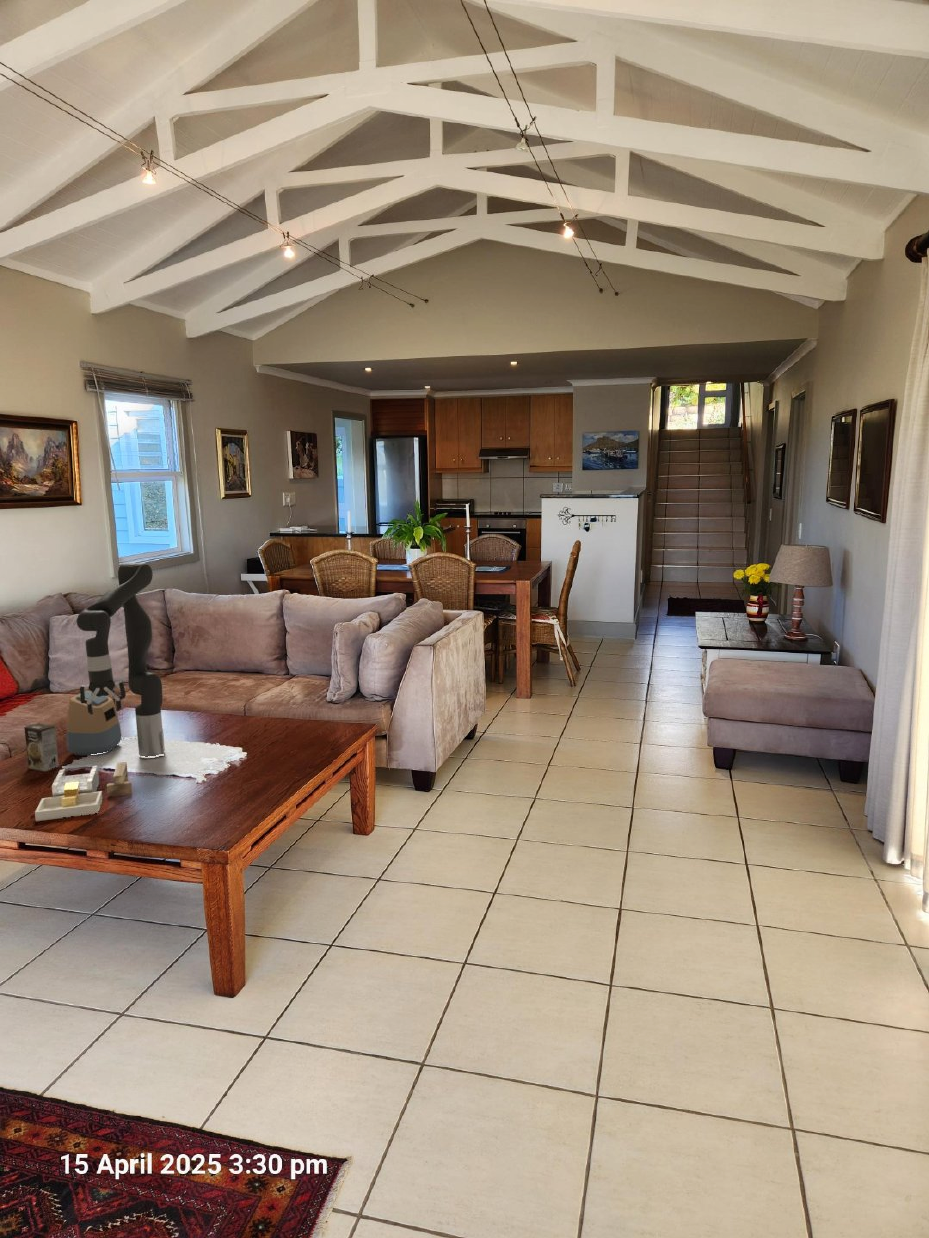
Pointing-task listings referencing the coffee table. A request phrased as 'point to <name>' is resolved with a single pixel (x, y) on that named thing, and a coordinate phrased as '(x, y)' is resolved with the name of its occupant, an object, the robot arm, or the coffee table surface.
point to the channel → (86, 781)
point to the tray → (54, 810)
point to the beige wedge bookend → (120, 781)
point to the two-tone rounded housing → (92, 726)
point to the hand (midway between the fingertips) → (105, 712)
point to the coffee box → (41, 746)
